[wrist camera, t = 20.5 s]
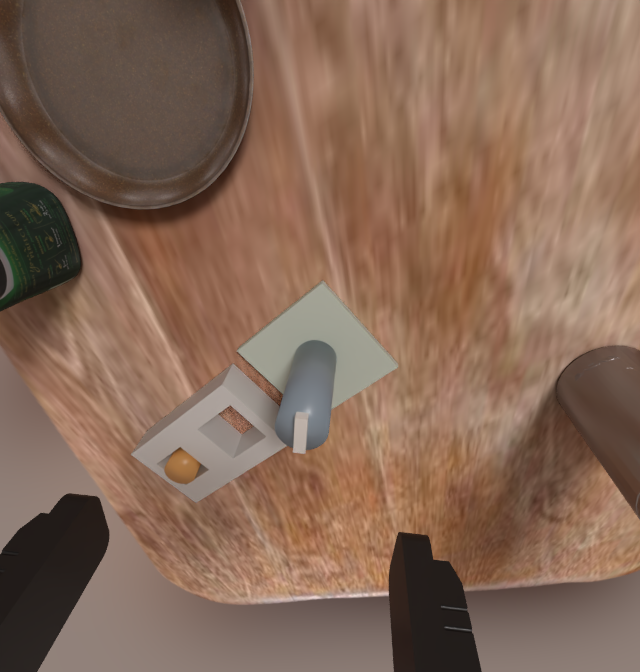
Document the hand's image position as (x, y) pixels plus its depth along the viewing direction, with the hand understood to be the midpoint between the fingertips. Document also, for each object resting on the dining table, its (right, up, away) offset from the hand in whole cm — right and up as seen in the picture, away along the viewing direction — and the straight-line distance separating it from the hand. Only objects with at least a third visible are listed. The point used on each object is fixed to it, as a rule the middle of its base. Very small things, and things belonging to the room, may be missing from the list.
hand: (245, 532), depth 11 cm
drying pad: (+2, +3, +32) cm, 33 cm away
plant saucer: (-13, +27, +22) cm, 37 cm away
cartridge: (+2, +3, +32) cm, 32 cm away
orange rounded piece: (-14, -9, +38) cm, 42 cm away
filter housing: (-10, -6, +38) cm, 40 cm away
